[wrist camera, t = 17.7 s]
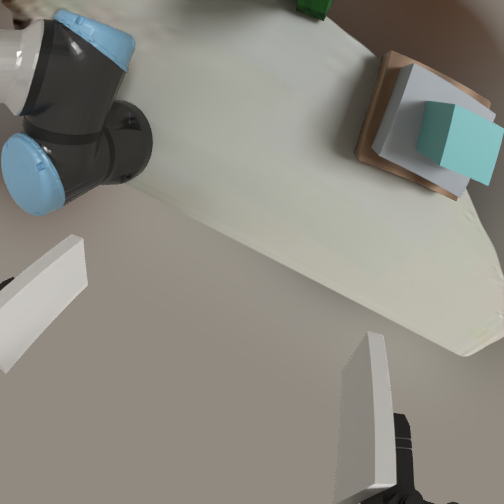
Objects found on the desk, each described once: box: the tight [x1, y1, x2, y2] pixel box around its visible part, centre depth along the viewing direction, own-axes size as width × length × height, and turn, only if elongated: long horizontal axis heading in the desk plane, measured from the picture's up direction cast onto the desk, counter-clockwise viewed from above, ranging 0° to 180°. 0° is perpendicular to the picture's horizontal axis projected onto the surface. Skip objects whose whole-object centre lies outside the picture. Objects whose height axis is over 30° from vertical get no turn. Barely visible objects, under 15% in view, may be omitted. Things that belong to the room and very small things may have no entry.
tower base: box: [354, 51, 491, 201], centre depth 35 cm, size 16×16×6 cm
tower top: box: [371, 63, 495, 198], centre depth 30 cm, size 12×12×6 cm
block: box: [416, 101, 504, 185], centre depth 24 cm, size 6×6×8 cm
